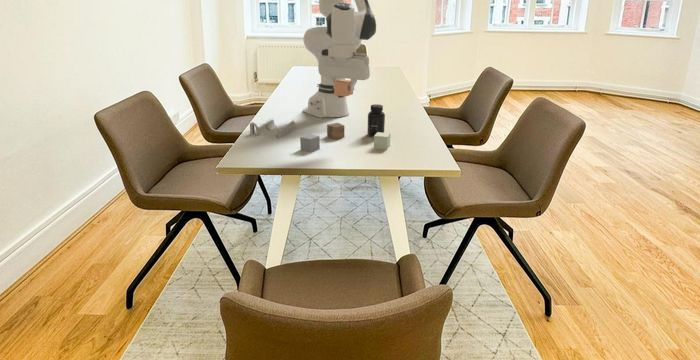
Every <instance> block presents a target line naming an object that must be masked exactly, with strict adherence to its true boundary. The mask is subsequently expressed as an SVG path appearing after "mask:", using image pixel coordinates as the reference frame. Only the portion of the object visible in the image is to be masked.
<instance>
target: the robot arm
mask: <svg viewBox="0 0 700 360" xmlns="http://www.w3.org/2000/svg"><path fill="white" fill-rule="evenodd" d="M353 1H354V2H355V6H356V7H357V11H356V10H355V6H354V5H353V4H351V3H346V0H318V3H319V4H318V7H319V8H318V9H319V12H320V14H321V15H322V16H323V17H325V21H326V22H325V23H326V26H315V27H311V28H307V30H306V31H305V32H304V36H303V45H304V47H305V48H306V50H307V51H308V52H310V53H311V54H312V55H313V56H314V58H316V60H317V63H318V64H317V65H318V69H317V71H318V74H319V75H320V83H318V84H316V85H317V86H316V88H318V90H317V92H315V93H313V95H311V96H310V97H309V99H308V102H307V107H305V108H302V112H303V113H306V114H308V115H310V116H314V117H317V118H319V119H320V118H340V117H341V118H342V117H345V116H348V115H349V114H350V113H349V108H348V101H347V96H346V97H345V96H338V95H334V81H337V80H341V79H344V80H351V82H352V83H351V86H348V91H353V92H354V91H355V86H356V84H357V82H358V81H367V80H368V79H370V74H371V73H370V58H369V56H368V55H367V54H366V53H363V52H357V50H358V49H359V48H360V47H361V44H362V41H368V40H370V39H371V38H372V37H373V36H374V35H375V34H376V32H377V21H376V18H375V15H374V13H373V11H372V8H371V5H370V3H369V0H353Z"/></svg>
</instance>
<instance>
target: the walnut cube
mask: <svg viewBox="0 0 700 360" xmlns="http://www.w3.org/2000/svg"><path fill="white" fill-rule="evenodd" d="M326 136H328V138H330V139H332V140H337V139H338V138H339V139H343V137H344V138H345V125H344V124H342V123H340V122H334V123H329V124H328V123H327V124H326Z"/></svg>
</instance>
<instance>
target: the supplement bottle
mask: <svg viewBox="0 0 700 360" xmlns="http://www.w3.org/2000/svg"><path fill="white" fill-rule="evenodd" d="M383 110H384V106H383V104H376V103H374V104H371V105H370V111H369V112H368V114H367V132H366V133H367V135H368V136H370V137H373V138H374V135H375V134H376V133H377V132H382V133H385V124H386V123H385V121H386V119H385V118H386V114H385V112H383Z"/></svg>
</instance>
